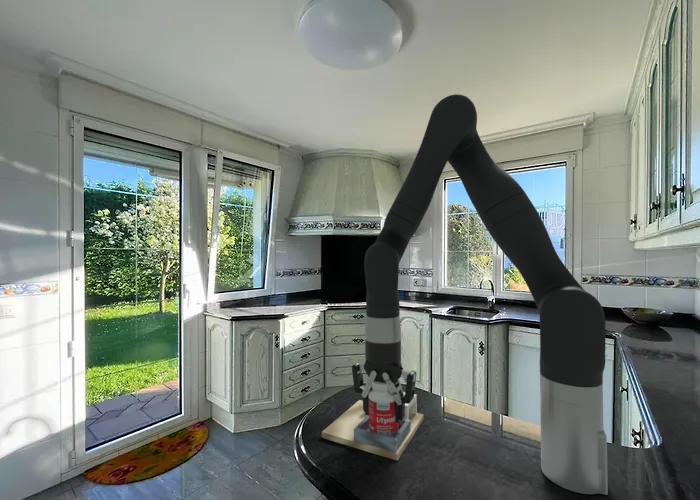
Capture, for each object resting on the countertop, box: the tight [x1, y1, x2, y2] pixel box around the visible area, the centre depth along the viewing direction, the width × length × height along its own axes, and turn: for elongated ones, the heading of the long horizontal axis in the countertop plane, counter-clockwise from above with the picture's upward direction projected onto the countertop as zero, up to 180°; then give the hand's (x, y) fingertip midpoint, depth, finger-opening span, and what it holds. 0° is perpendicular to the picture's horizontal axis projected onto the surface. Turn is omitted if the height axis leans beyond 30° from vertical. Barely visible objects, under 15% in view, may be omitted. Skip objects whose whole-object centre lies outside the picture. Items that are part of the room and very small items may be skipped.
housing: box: [403, 391, 418, 420], centre depth 78 cm, size 7×7×4 cm
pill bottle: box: [368, 381, 399, 438], centre depth 70 cm, size 6×6×11 cm
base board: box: [321, 399, 425, 461], centre depth 75 cm, size 17×18×4 cm
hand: (383, 417), depth 70 cm, fingers closed on pill bottle, 6 cm apart
